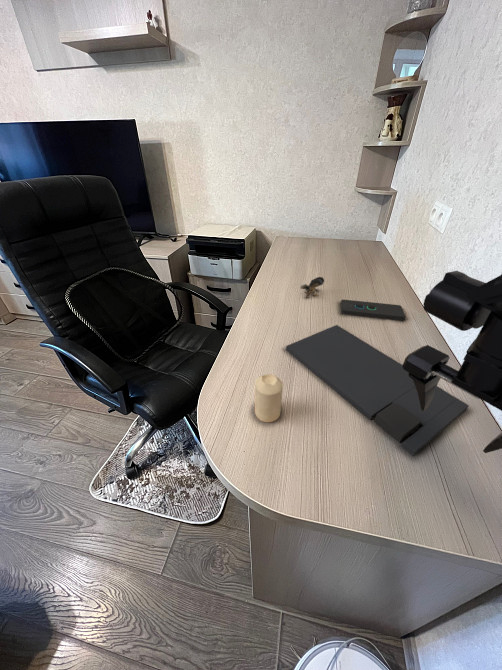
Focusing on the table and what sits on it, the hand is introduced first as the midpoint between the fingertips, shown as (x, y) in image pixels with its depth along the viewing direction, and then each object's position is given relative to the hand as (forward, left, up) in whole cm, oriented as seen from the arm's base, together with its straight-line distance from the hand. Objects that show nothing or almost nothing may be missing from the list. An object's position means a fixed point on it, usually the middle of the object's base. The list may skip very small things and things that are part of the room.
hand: (452, 428), depth 44 cm
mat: (+22, -10, -11) cm, 26 cm away
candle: (+26, +17, -11) cm, 33 cm away
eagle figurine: (+63, -30, -12) cm, 70 cm away
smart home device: (+42, -38, -11) cm, 57 cm away
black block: (+9, -3, -11) cm, 15 cm away
